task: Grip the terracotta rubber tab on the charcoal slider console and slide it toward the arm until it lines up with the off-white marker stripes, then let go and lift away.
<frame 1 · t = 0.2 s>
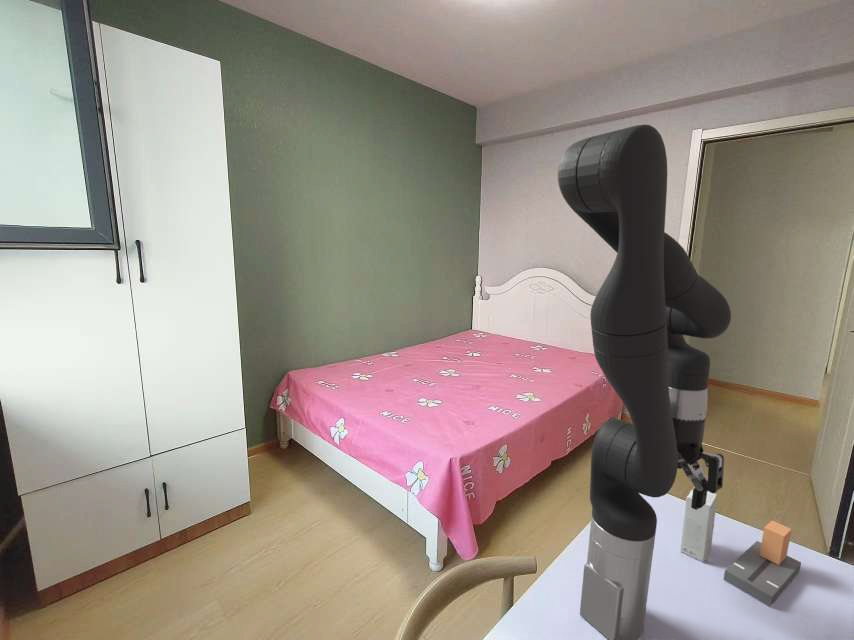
hand: (670, 494, 72), 17 cm above the table, tool pointing down, fingers open, 8 cm apart
fader tab: (775, 542, 79), point 5 cm above the table, slide at 4.5 cm
skincare box: (694, 550, 84), on the table
fader console: (762, 575, 77), on the table
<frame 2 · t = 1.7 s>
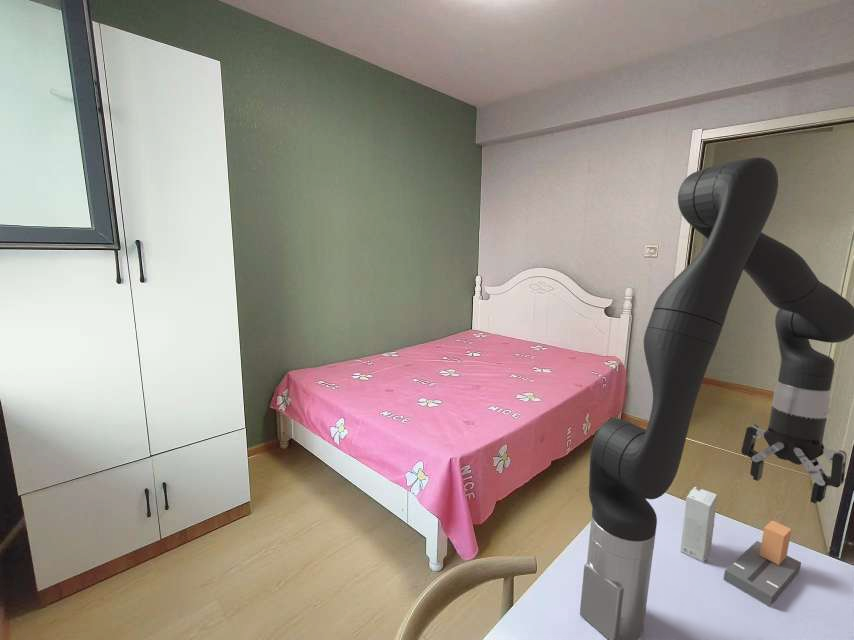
hand: (784, 489, 77), 16 cm above the table, tool pointing down, fingers open, 8 cm apart
nothing on the table moved.
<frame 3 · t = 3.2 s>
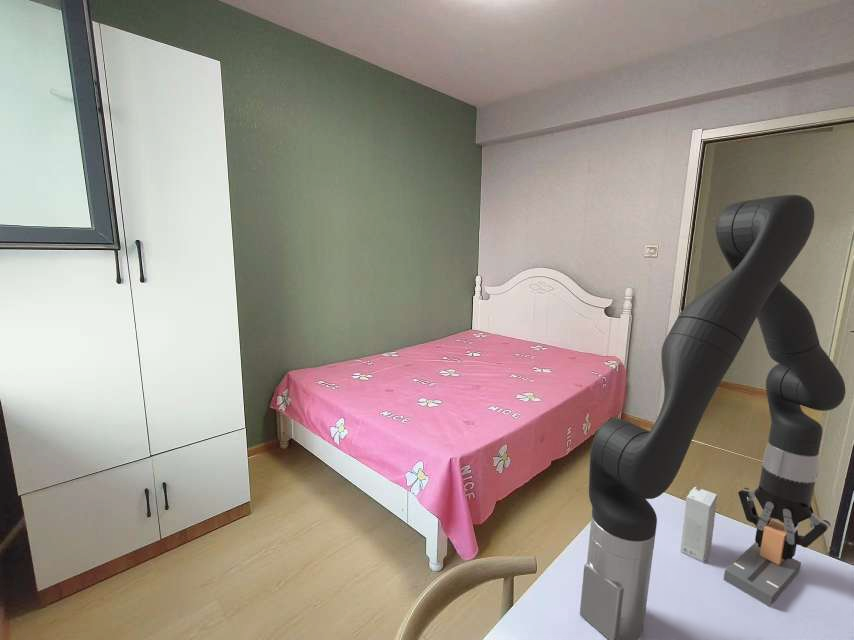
hand: (773, 551, 79), 3 cm above the table, tool pointing down, fingers closed on fader tab, 3 cm apart
fader tab: (775, 542, 79), point 5 cm above the table, slide at 4.5 cm, touching gripper
everything else where it was.
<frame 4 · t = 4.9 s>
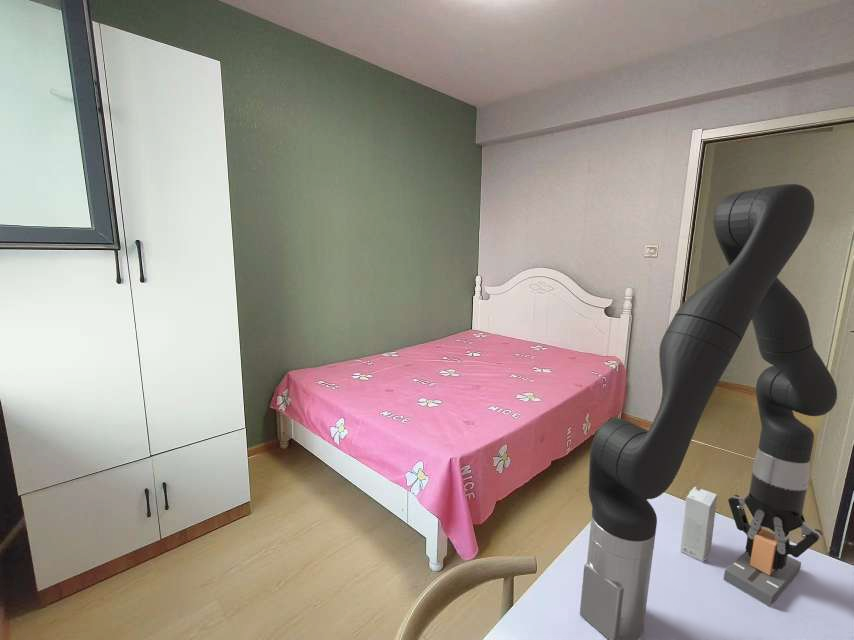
hand: (764, 561, 76), 3 cm above the table, tool pointing down, fingers closed on fader tab, 3 cm apart
fader tab: (766, 551, 76), point 5 cm above the table, slide at -0.2 cm, touching gripper
everything else where it was.
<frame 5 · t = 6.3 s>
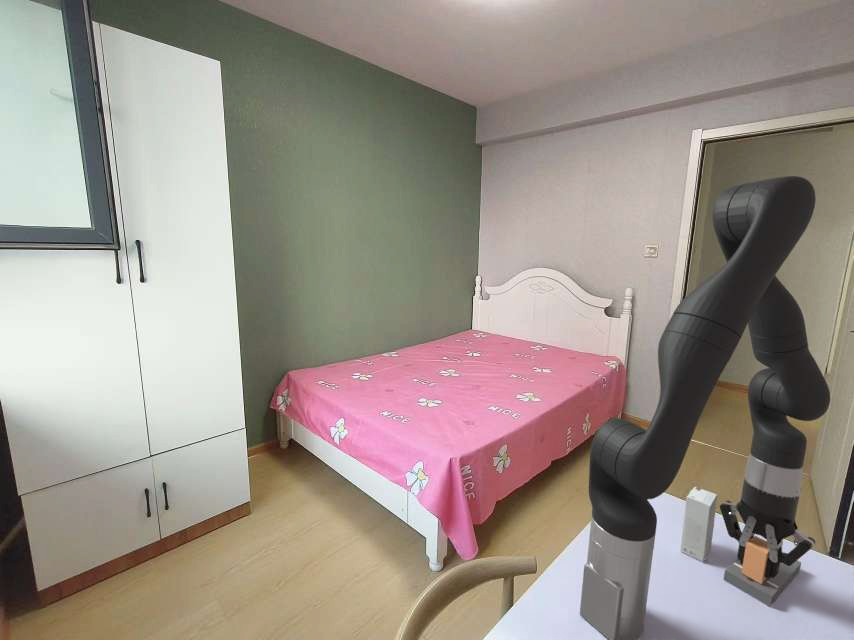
hand: (756, 569, 74), 3 cm above the table, tool pointing down, fingers closed on fader tab, 3 cm apart
fader tab: (758, 559, 74), point 5 cm above the table, slide at -4.0 cm, touching gripper
everything else where it was.
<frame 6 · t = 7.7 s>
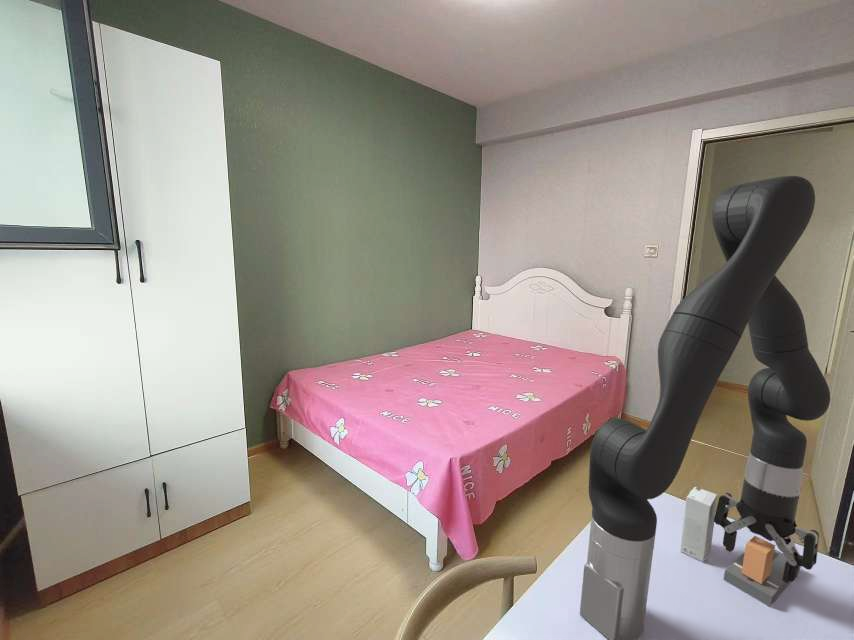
hand: (757, 564, 74), 4 cm above the table, tool pointing down, fingers open, 8 cm apart
fader tab: (758, 559, 74), point 5 cm above the table, slide at -4.0 cm
everything else where it was.
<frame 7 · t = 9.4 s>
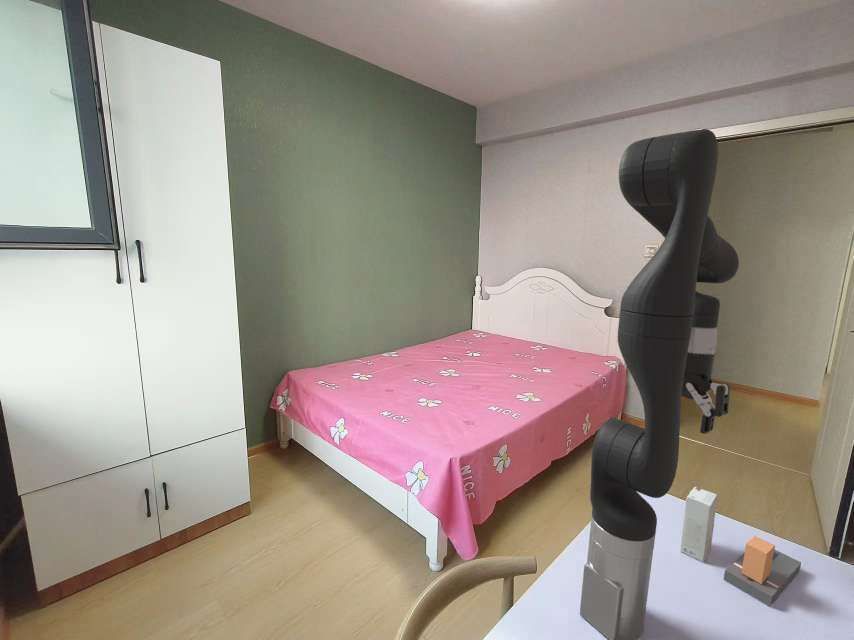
hand: (682, 424, 83), 25 cm above the table, tool pointing down, fingers open, 8 cm apart
nothing on the table moved.
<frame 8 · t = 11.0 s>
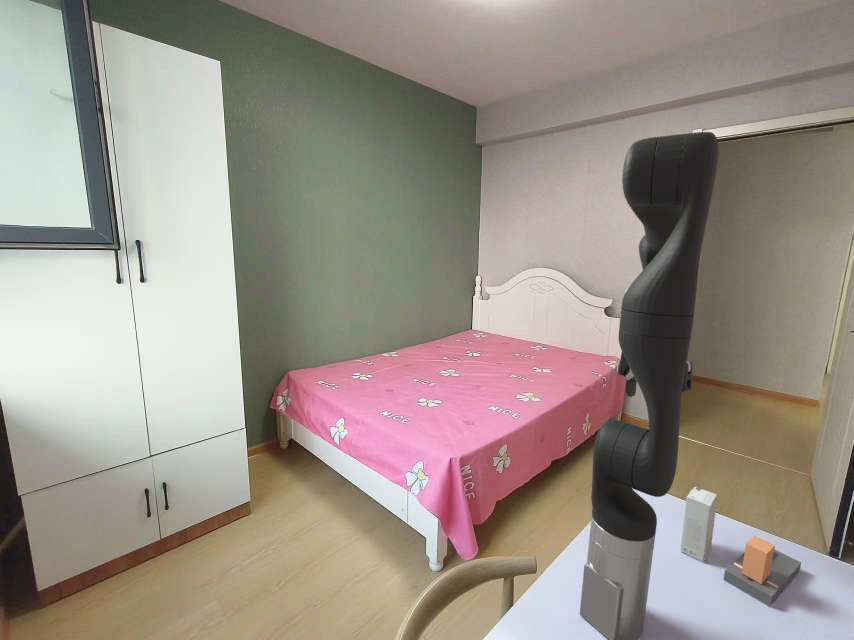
hand: (649, 401, 88), 28 cm above the table, tool pointing down, fingers open, 8 cm apart
nothing on the table moved.
at the end: fader tab slide at -4.0 cm; skincare box moved 0.2 cm from its start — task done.
